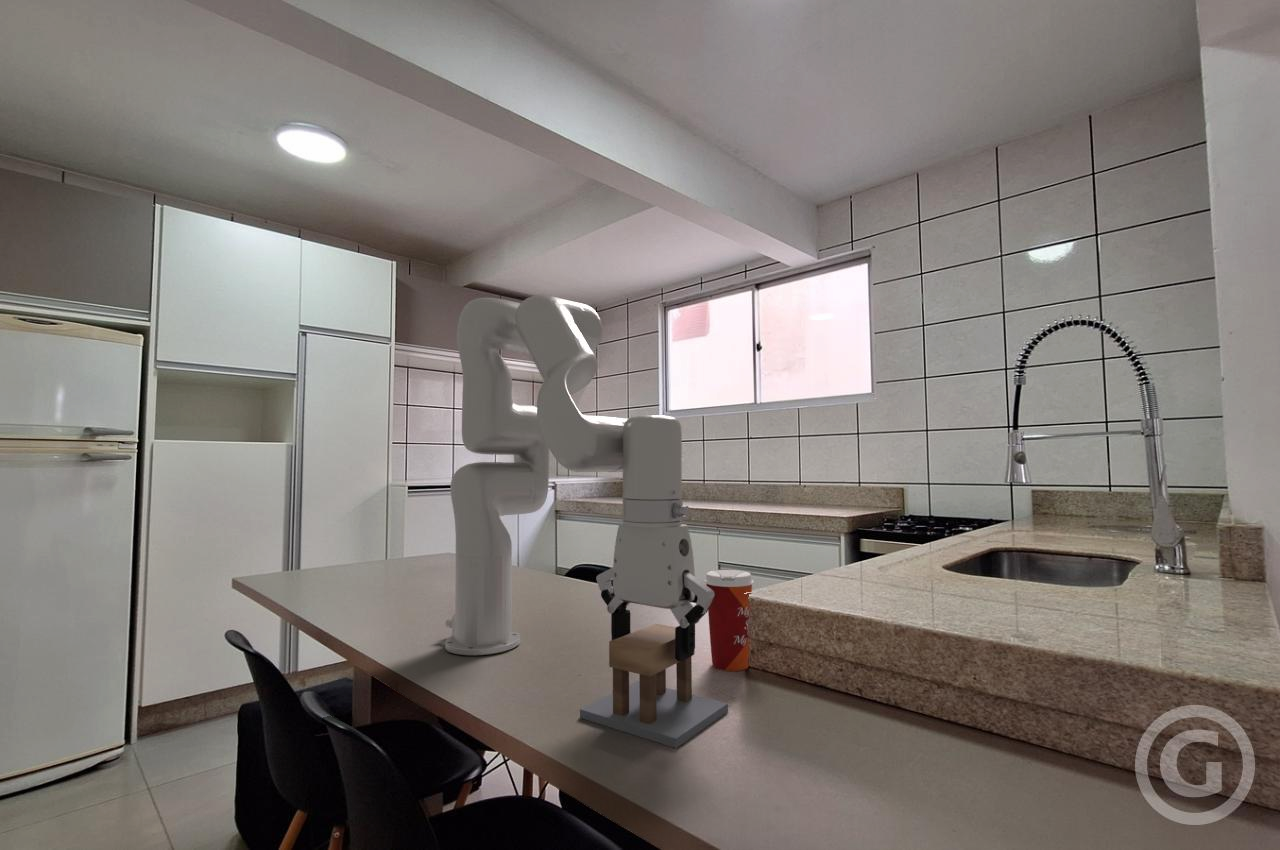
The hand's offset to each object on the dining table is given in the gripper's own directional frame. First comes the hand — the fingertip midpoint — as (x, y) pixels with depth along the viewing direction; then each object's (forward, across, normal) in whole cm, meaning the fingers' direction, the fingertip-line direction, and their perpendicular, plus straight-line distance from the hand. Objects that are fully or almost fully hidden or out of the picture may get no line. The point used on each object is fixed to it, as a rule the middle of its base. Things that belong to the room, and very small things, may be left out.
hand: (651, 650), depth 75 cm
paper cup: (+8, 0, -22) cm, 23 cm away
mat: (+8, -1, 0) cm, 8 cm away
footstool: (+7, 0, 0) cm, 7 cm away
